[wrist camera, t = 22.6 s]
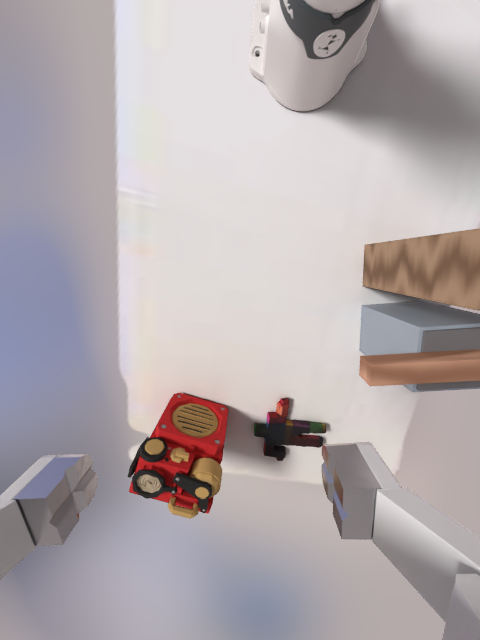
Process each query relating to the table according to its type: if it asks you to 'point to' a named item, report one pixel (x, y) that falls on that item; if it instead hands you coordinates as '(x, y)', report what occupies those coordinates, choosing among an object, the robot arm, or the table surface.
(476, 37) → the table surface
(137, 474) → the radio
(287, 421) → the toy
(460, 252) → the post
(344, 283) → the table surface
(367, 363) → the bar
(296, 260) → the table surface
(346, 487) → the robot arm
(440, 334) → the dock
